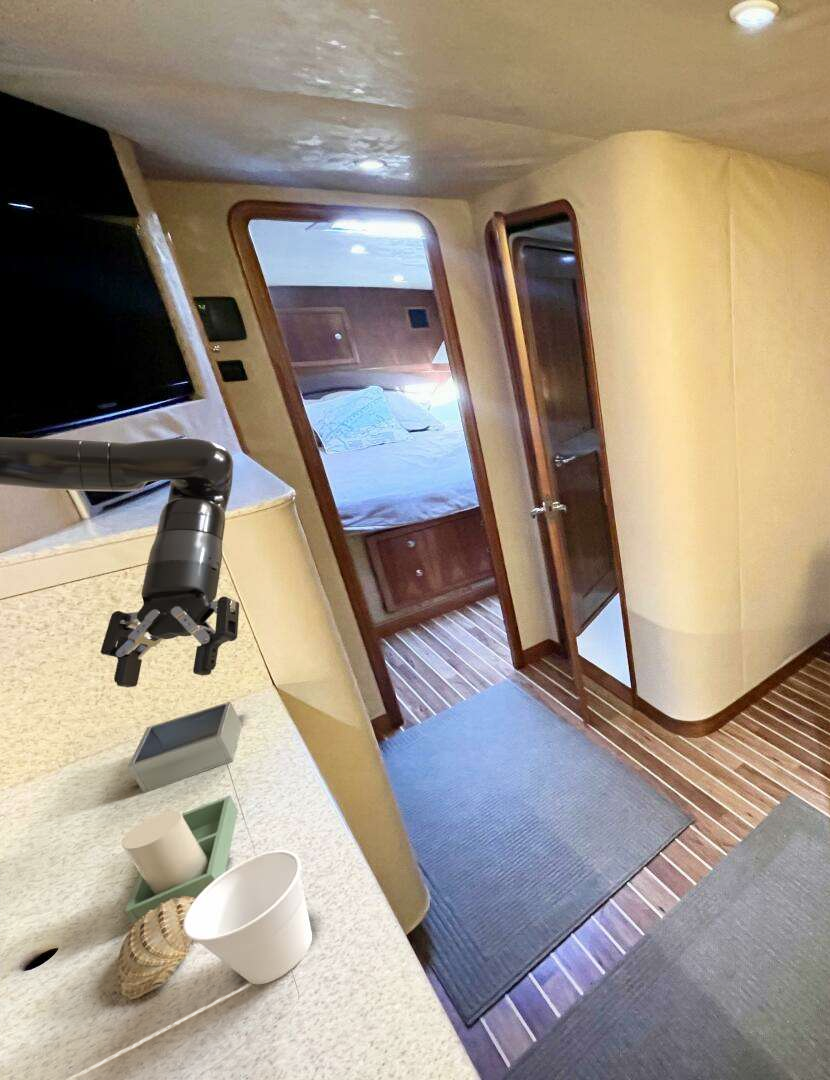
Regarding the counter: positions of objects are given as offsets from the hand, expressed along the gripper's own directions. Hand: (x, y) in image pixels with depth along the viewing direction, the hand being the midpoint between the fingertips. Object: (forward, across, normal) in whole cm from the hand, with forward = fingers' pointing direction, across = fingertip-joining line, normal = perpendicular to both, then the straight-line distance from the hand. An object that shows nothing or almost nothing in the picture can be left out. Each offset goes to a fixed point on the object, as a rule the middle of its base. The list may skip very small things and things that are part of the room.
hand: (164, 680), depth 71 cm
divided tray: (+23, -1, +12) cm, 26 cm away
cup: (+35, +17, 0) cm, 39 cm away
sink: (+6, -15, +30) cm, 34 cm away
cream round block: (+25, 0, +9) cm, 27 cm away
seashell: (+32, +4, +3) cm, 33 cm away
